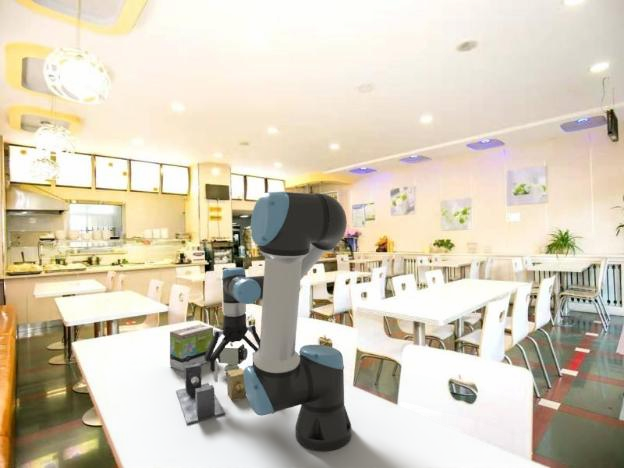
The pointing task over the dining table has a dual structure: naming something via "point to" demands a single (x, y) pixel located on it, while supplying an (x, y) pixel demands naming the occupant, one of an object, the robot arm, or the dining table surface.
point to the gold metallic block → (235, 384)
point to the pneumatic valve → (233, 356)
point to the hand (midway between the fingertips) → (235, 376)
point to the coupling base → (198, 397)
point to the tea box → (189, 346)
